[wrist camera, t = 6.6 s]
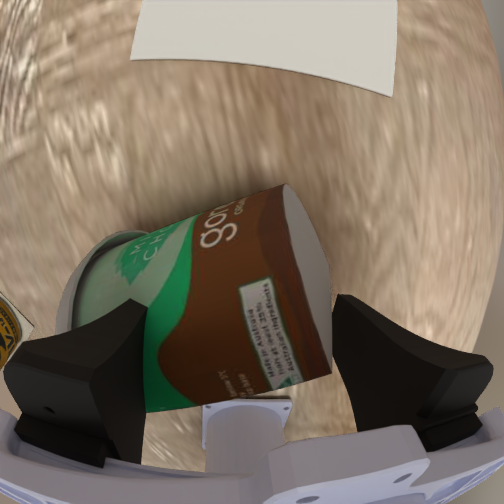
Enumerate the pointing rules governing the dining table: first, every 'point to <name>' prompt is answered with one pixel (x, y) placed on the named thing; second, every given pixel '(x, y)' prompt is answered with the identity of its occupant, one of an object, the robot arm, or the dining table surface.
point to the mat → (277, 36)
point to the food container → (216, 300)
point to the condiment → (11, 330)
